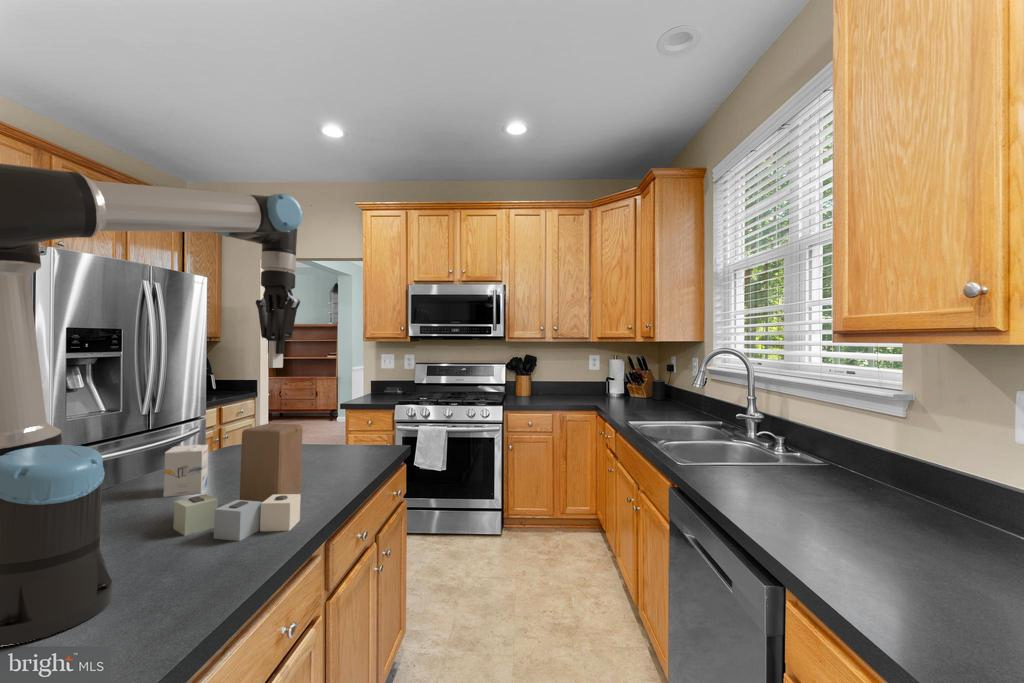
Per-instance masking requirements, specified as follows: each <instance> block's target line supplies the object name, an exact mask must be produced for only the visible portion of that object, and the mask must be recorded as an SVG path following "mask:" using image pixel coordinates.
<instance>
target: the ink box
mask: <svg viewBox="0 0 1024 683" xmlns="http://www.w3.org/2000/svg"><path fill="white" fill-rule="evenodd" d="M208 468H209V444H208V443H207V444H190V445H178V446H173V447H171V448H169V449H168V450H166V451H165V452H164V475H163V476H164V477H163V494H162V495H163V498H166V497H169V498H170V497H178V496H189V495H199V494H200V495H202V493H203V491H204V490H205V488H206V487H207V485H208V475H209V474H208V470H209V469H208Z"/></svg>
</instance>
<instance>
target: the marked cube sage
mask: <svg viewBox="0 0 1024 683" xmlns="http://www.w3.org/2000/svg"><path fill="white" fill-rule="evenodd" d="M173 502H174V503H173V504H174V505H173V508H174V509H173V530H174V531H175V532H178V533H179V534H180V535H183V536H184V537H186V536H188V535H193V534H195V533H196V534H197V533H199V531H200V532H203V530H204V531H206V530H210V529H214V514H215V509H216V508H219V499H218V498H216V497H213V496H211V495H209V494H207V493H204V494H200V495H199V494H198V495H196V496H191V497H186V498H182V499H179V500H178V499H177V500H174V501H173ZM192 533H193V534H192Z"/></svg>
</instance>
